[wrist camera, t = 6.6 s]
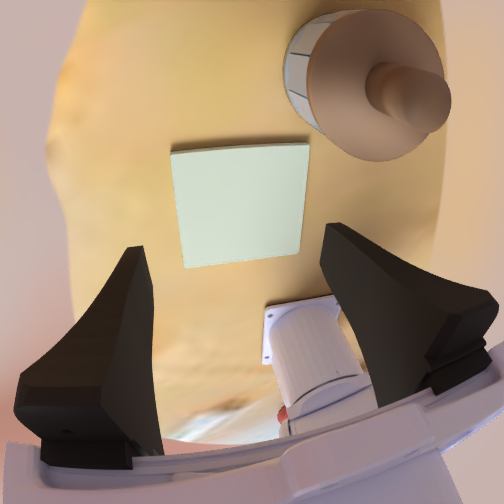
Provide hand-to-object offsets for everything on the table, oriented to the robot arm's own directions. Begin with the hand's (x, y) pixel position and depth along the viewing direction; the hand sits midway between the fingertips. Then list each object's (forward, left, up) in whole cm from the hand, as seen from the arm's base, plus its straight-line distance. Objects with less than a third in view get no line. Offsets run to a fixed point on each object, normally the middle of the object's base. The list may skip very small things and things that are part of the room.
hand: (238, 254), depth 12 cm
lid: (+6, -9, -6) cm, 12 cm away
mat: (-3, -2, -10) cm, 11 cm away
